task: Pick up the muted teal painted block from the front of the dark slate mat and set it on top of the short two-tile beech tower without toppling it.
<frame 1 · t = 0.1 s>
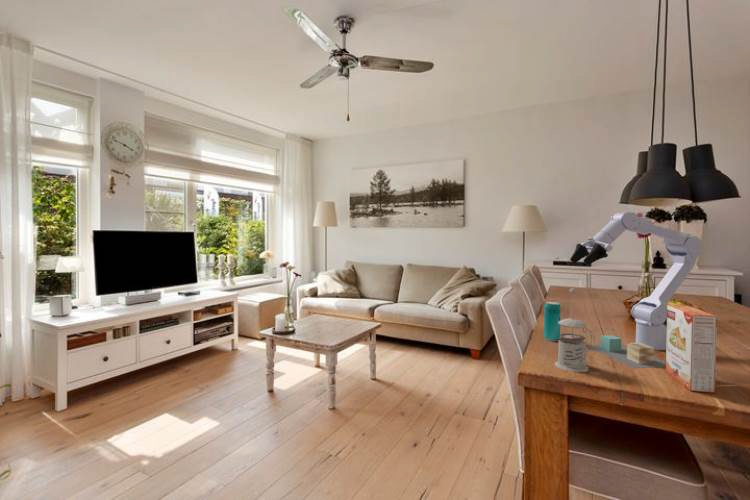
hand: (578, 262, 132), 32 cm above the table, tool tilted 50°, fingers open, 7 cm apart
cracker box: (688, 383, 104), on the table
tower upper: (640, 353, 121), point 3 cm above the table, touching tower lower
slate mat: (627, 356, 126), on the table
french press: (574, 367, 117), on the table
tower lower: (639, 360, 121), resting on slate mat, touching tower upper
beverage can: (551, 340, 145), on the table
teal block: (610, 349, 133), resting on slate mat
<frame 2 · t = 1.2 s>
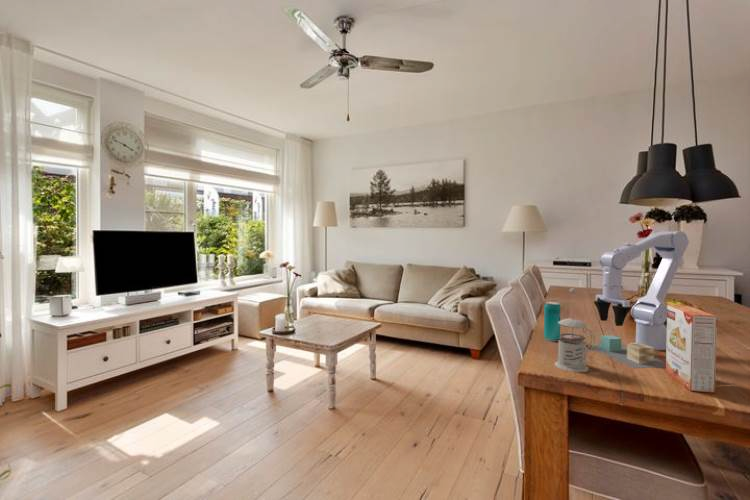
hand: (611, 323, 132), 10 cm above the table, tool pointing down, fingers open, 7 cm apart
nothing on the table moved.
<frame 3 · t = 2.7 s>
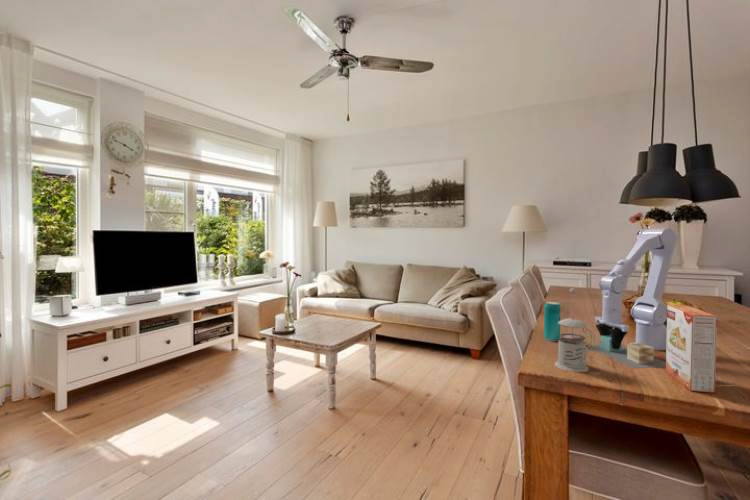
hand: (610, 346, 133), 1 cm above the table, tool pointing down, fingers closed on teal block, 4 cm apart
teal block: (610, 349, 133), resting on slate mat, touching gripper
everything else where it was.
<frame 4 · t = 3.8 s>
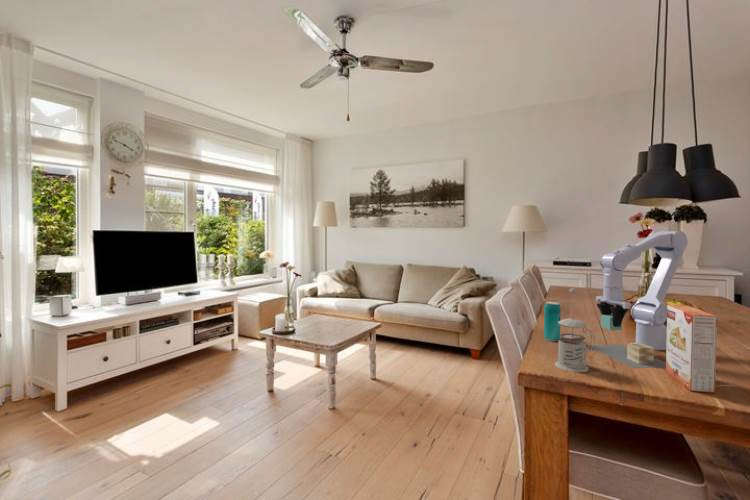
hand: (611, 324, 132), 9 cm above the table, tool pointing down, fingers closed on teal block, 4 cm apart
teal block: (611, 328, 132), point 8 cm above the table, touching gripper
everything else where it was.
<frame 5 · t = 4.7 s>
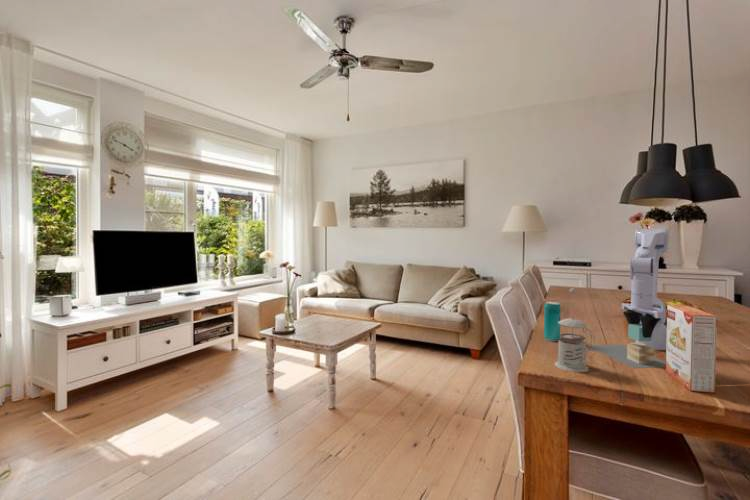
hand: (640, 335, 120), 9 cm above the table, tool pointing down, fingers closed on teal block, 4 cm apart
teal block: (639, 339, 120), point 7 cm above the table, touching gripper
everything else where it was.
when the fingers open (8 cm above the table, at t = 5.3 s): teal block drops 1 cm, resting on tower upper.
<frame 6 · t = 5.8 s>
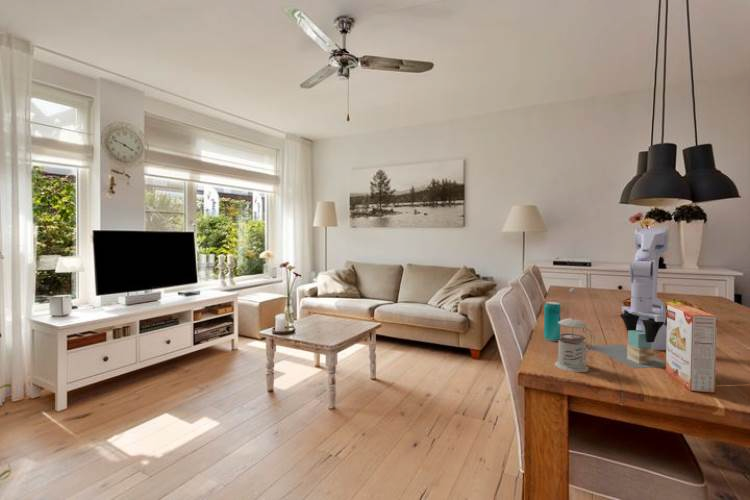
hand: (640, 338, 120), 8 cm above the table, tool pointing down, fingers open, 7 cm apart
tower upper: (640, 353, 121), point 3 cm above the table, touching teal block, tower lower
teal block: (639, 345, 121), point 5 cm above the table, touching tower upper
everything else where it was.
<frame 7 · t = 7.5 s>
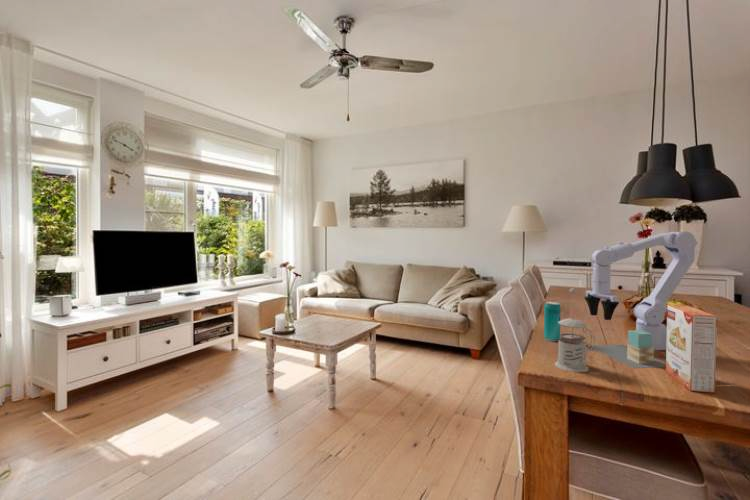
hand: (600, 317, 139), 10 cm above the table, tool pointing down, fingers open, 7 cm apart
nothing on the table moved.
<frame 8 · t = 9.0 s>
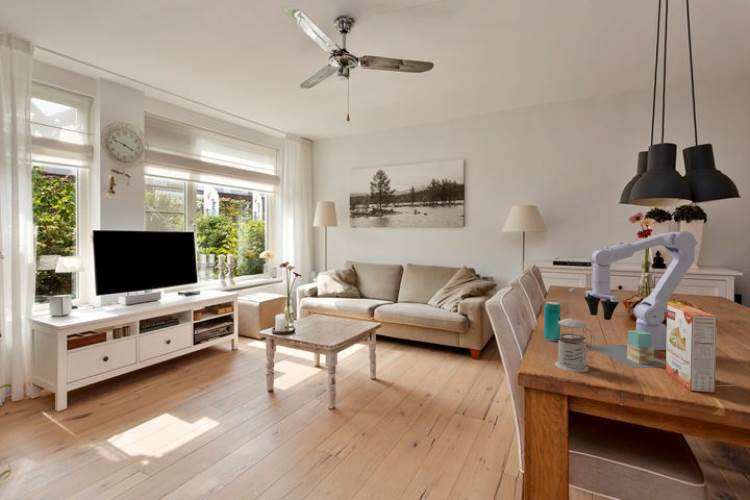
hand: (600, 317, 139), 10 cm above the table, tool pointing down, fingers open, 7 cm apart
nothing on the table moved.
at the end: teal block 0.4 cm off-centre on the tower upper, point 2.5 cm above the tower upper's base; teal block tilted 0°; tower upper 0.0 cm off-centre on the tower lower, point 2.5 cm above the tower lower's base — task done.
